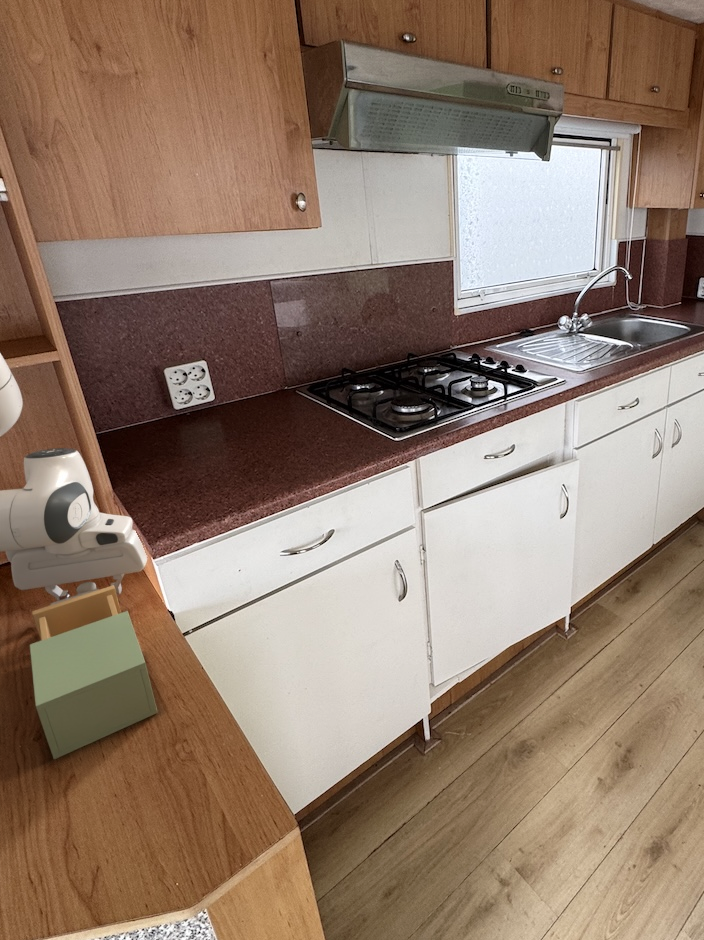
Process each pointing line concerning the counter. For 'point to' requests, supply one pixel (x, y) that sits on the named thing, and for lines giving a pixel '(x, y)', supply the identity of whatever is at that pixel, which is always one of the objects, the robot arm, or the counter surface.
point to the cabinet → (90, 683)
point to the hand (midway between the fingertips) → (91, 597)
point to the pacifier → (85, 587)
